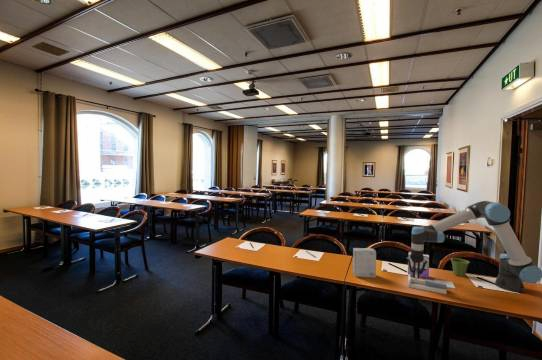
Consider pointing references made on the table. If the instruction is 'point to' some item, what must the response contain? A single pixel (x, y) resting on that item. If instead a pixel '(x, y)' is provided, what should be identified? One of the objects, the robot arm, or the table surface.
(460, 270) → the plant pot
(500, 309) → the table surface
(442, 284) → the blank
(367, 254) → the hard drive box
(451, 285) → the mat
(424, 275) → the candy box
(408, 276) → the shelf bay
